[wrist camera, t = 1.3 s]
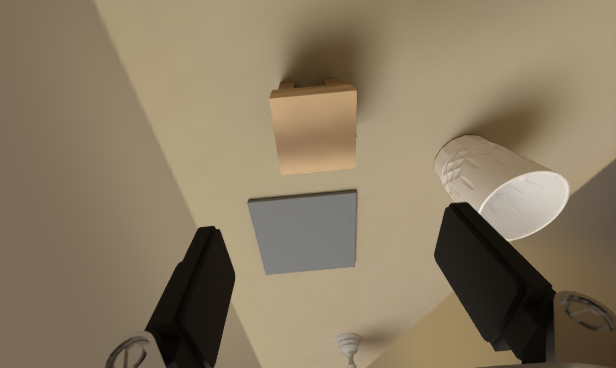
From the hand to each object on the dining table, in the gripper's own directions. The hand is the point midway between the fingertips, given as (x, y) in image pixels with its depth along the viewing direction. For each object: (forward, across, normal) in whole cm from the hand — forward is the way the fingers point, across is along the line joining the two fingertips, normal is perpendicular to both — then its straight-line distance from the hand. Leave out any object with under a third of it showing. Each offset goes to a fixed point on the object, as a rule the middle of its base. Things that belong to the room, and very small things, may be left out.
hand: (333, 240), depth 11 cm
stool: (+20, 0, 0) cm, 20 cm away
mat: (+20, +2, +18) cm, 26 cm away
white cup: (+20, -18, +8) cm, 28 cm away
